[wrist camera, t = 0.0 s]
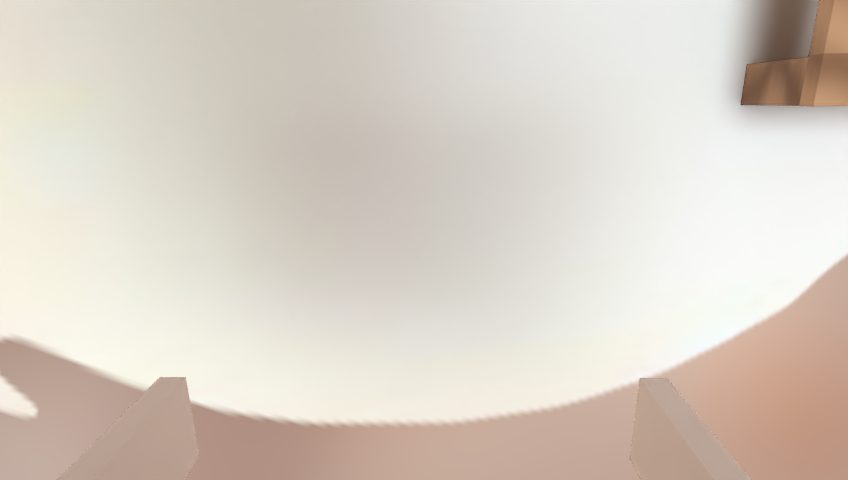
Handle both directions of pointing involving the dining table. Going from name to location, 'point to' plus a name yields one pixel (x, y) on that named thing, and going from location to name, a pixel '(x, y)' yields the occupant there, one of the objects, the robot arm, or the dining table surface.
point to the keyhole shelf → (807, 67)
